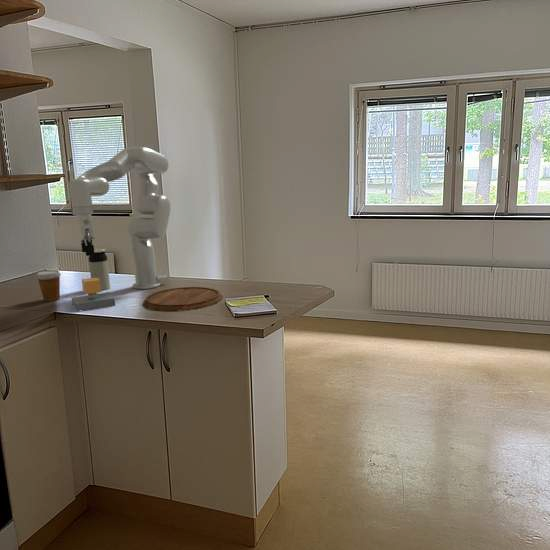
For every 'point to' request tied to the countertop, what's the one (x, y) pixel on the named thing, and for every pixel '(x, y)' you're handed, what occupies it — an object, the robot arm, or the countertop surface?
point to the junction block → (93, 301)
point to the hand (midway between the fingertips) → (88, 253)
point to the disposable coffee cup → (49, 284)
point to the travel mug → (100, 268)
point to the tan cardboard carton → (91, 285)
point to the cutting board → (182, 298)
